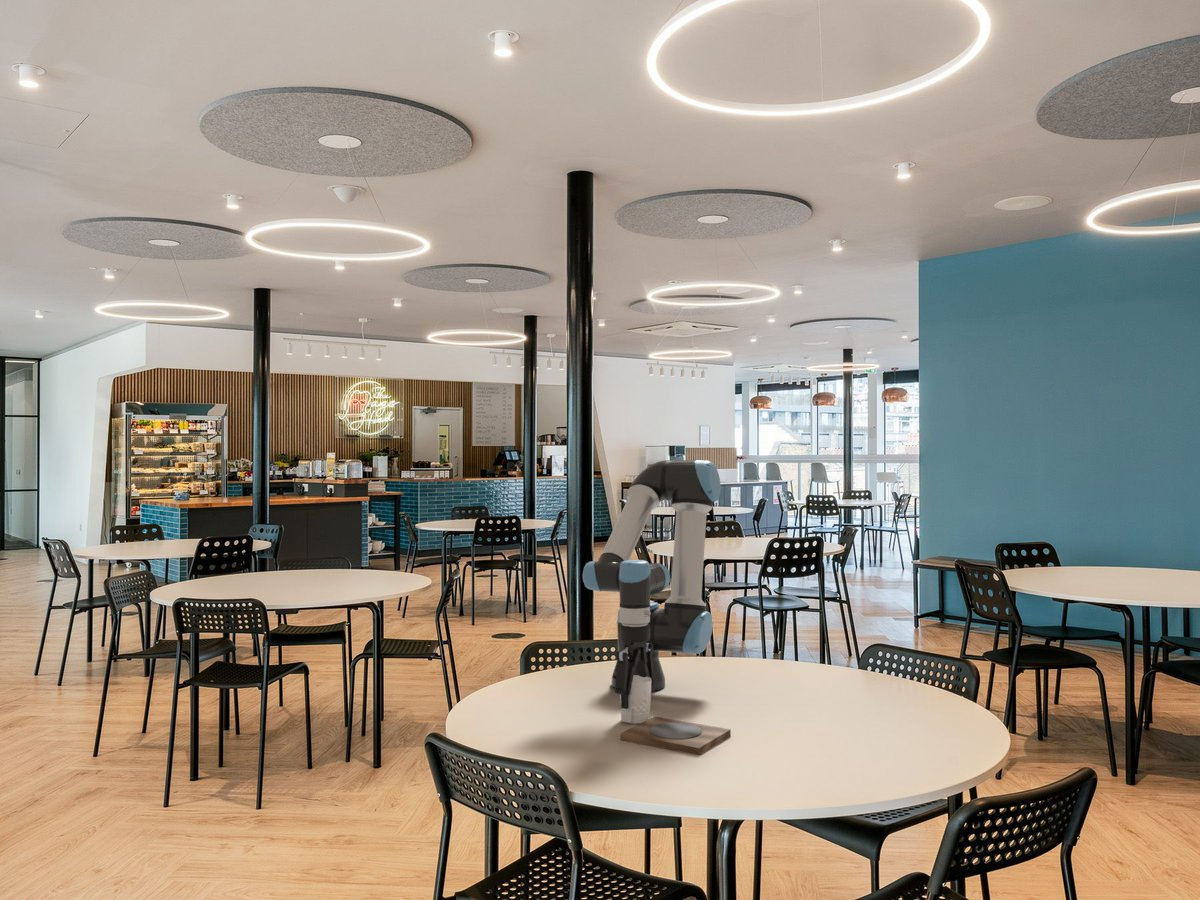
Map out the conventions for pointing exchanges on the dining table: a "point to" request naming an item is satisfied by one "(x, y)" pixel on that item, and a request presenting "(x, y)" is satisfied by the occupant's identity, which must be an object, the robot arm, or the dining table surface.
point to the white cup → (640, 698)
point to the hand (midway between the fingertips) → (635, 717)
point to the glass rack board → (676, 735)
